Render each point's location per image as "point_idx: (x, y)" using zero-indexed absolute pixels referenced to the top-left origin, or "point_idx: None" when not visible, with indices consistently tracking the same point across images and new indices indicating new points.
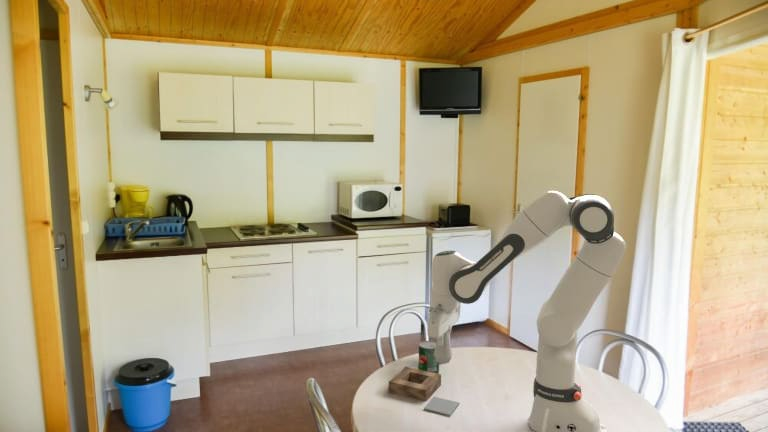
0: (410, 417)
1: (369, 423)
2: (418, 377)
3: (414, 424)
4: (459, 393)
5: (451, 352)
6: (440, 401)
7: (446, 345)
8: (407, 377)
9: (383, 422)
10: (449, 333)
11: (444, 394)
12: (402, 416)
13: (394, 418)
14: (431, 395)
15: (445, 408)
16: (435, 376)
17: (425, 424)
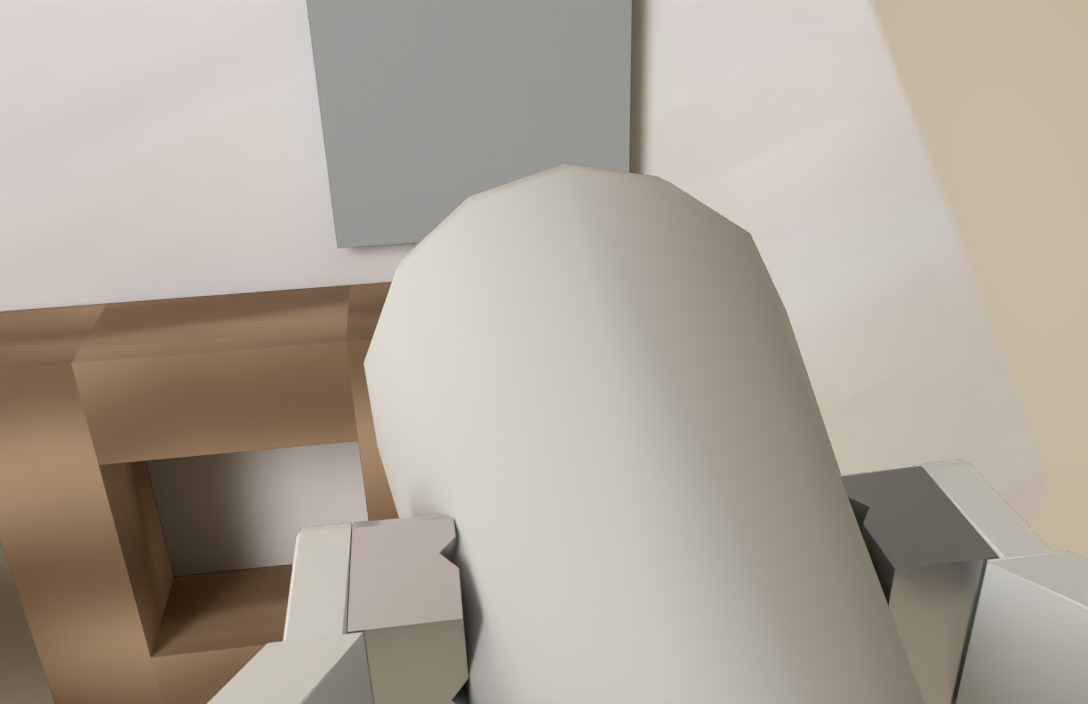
0: (810, 259)
1: (1015, 472)
2: (139, 547)
3: (914, 172)
4: (30, 37)
5: (552, 215)
6: (403, 141)
7: (796, 397)
8: (227, 622)
9: (968, 400)
10: (327, 686)
11: (180, 183)
12: (821, 324)
13: (878, 362)
14: (299, 289)
15: (523, 25)
16: (56, 402)
17: (879, 83)
